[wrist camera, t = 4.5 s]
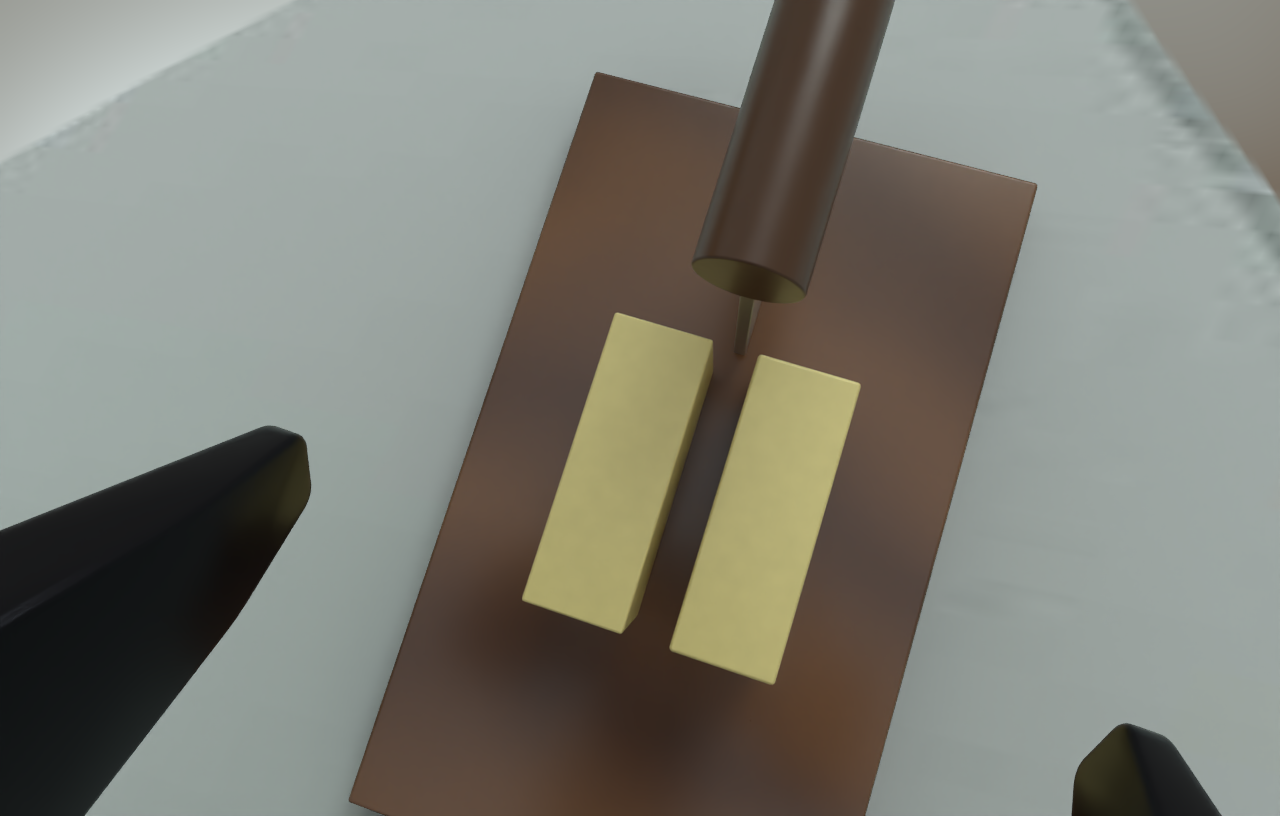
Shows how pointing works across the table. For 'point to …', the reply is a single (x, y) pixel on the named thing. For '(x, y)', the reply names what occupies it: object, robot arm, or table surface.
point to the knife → (789, 152)
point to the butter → (648, 479)
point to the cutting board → (698, 493)
